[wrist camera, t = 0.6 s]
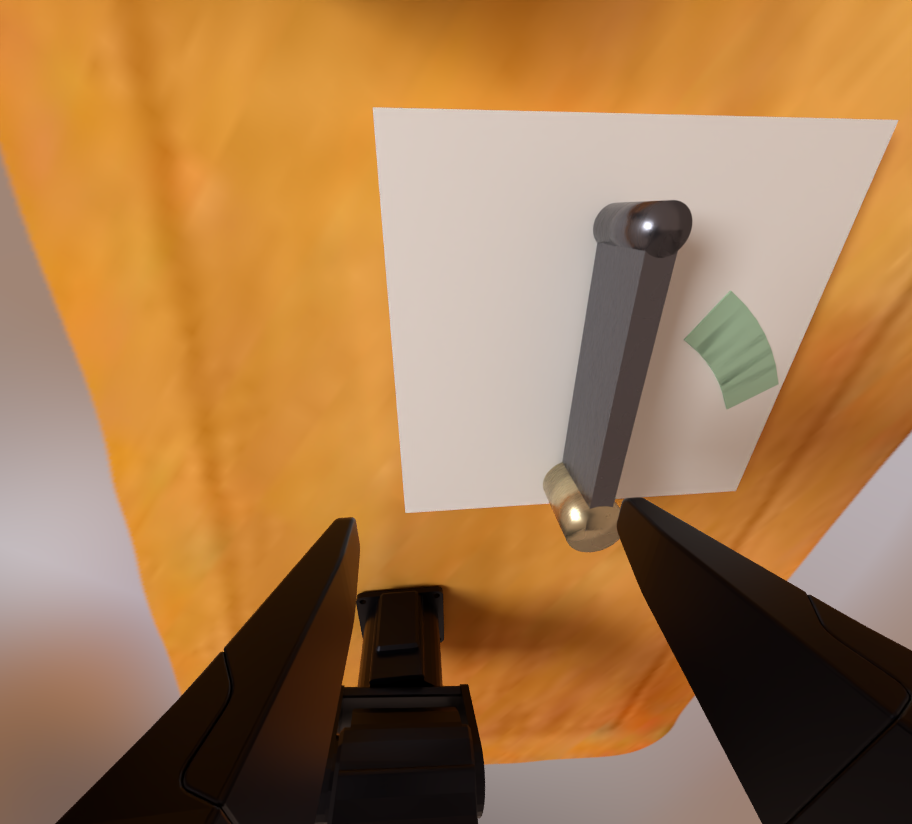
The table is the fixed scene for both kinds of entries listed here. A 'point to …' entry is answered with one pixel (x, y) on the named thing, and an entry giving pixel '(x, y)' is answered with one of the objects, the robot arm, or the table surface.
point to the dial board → (569, 278)
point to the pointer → (614, 362)
